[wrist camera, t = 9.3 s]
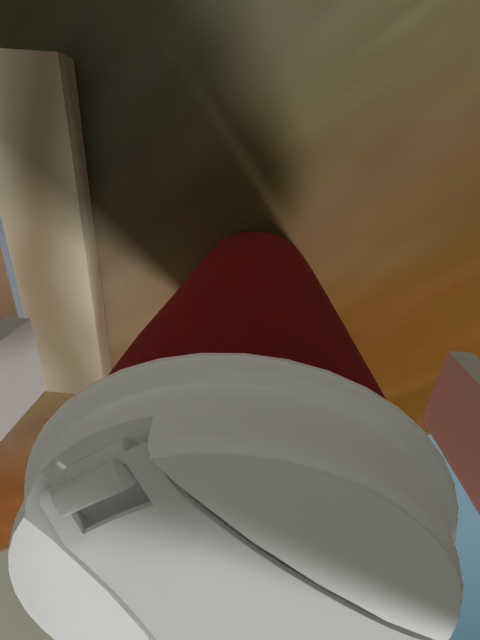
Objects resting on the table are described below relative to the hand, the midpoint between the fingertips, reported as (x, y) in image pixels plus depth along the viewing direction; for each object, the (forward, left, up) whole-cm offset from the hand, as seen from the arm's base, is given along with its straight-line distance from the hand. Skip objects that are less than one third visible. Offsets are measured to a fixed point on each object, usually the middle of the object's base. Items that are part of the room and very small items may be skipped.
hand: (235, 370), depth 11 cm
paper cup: (0, 0, -7) cm, 7 cm away
